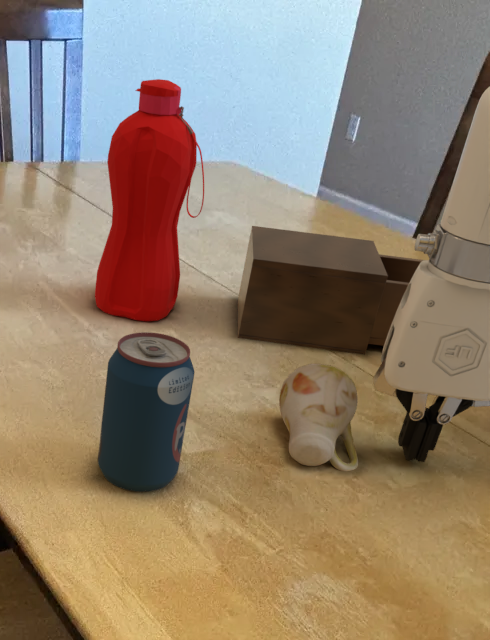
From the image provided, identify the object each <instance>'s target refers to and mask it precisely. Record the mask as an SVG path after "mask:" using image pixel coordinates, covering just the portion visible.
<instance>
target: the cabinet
mask: <svg viewBox="0 0 490 640" xmlns="http://www.w3.org/2000/svg"><path fill="white" fill-rule="evenodd" d="M249 234H250V235H249V239H248V243H247V244H248V245H247V249H246V254H245V260H244V266H243V270H242V275H241V281H240V286H239V291H238V297H237V338H238V339H244V340H251V341H259V342H267V343H274V344H281V345H289V346H296V347H302V348H303V347H304V348H312V349H317V350H318V349H319V350H325V351H334V352H340V353H341V352H342V353H350V354H357V355H362V356H363V355H364V356H365V355H366V352H367V349H368V346H369V344H368V342H369V339H370V336H371V332H372V329H373V325H374V322H375V318H376V315H377V312H378V308H379V305H380V301H381V298H382V294H383V291H384V288H385V284H386V281H387V277H388V275H387V273H386V270H385V268H384V265H383V263H382V260H381V258H380V256H379V254H380V253H379V251H378V249H377V246H376V244H375V241H374V240H370V239H363V238H362V239H361V238H355V237H346V236H338V235H330V234H329V235H328V234H321V233H315V232H314V233H313V232H306V231H298V230H291V229H290V230H289V229H281V228H274V227H273V228H272V227H265V226H256V225H251V229H250V233H249Z"/></svg>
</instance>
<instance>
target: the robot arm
mask: <svg viewBox="0 0 490 640" xmlns="http://www.w3.org/2000/svg"><path fill="white" fill-rule="evenodd" d="M446 200H447V201H446V203H445V207H444V210H443V214H442V217H441V220H440V223H437V225H436V227H435V229H433V232H428V233H427V234H424V233H418V234H417V237H416V240H415V243H414V251H415V252H422V253H423V254H424V255H427V257H428V259H423V260H424V261H422V262H421V263H420V264H419V266H418V268H417V269H416V271H415V273H414V275H413V277H412V279H411V281H410V283H409V285H408V287H407V289H406V291H405V293H404V295H403V297H402V300H401V302H400V304H399V307H398V309H397V311H396V314H395V316H394V319H393V321H392V324H391V327H390V329H389V332H388V335H387V338H386V341H385V344H384V346H382V347H383V348H382V351H381V355H380V356H381V357H380V363H381V364H380V365H379V367H378V369H377V370H376V372H375V373H374V375H373V377H372V385H373V388H374V390H375V391H377V392H380V393H383V394H384V395H388V396H390V397H395V398H396V399H397V400H398V402H399V403H400V404H401V405H402V407H403V408H404V410H405V411H406V413H405V417H404V419H403V423H402V425H401V429H400V432H399V435H398V439H397V442H398V446H399V447H401V448H402V451H403V454H404V457H405V458H404V459H405V460H406V461H411V462H412V461H413V460H416V461H417V462H419V463H425V462H426V460H427V457H428V454H429V452H430V451H432V452H433V451H434V450H435V448H436V446H437V443H438V440H439V438H440V435H441V433H442V429H443V427H444V425H447V424H449V423H450V422H451V421H452V419H453V418H454V417H455V416H457V415H459V414H461V413H463V412H465V411H466V410H468V409H469V408H472V407H473V408H482V407H490V86H488V87H487V88H486V89H485V90H484V92H483V93H482V94H481V96H480V98H479V100H478V103H477V105H476V108H475V111H474V114H473V117H472V120H471V124H470V128H469V129H468V133H467V137H466V140H465V143H464V146H463V149H462V153H461V156H460V159H459V162H458V165H457V169H456V172H455V175H454V178H453V181H452V184H451V187H450V190H449V194H448V197H447V199H446ZM428 395H431V396H434V399H433V400H432V403H431V405H430V406H428V407H426V406H427V400H428Z"/></svg>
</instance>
